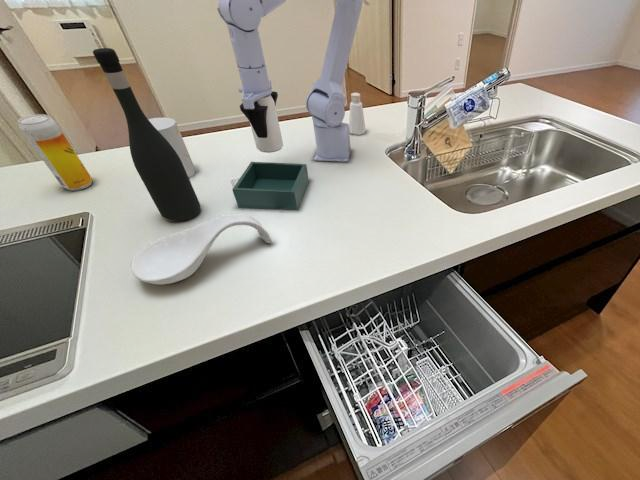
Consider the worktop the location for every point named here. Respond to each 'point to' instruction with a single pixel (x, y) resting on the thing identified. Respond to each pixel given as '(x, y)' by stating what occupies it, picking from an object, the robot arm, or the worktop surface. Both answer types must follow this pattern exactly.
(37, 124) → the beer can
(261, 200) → the box
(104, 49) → the wine bottle
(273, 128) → the can
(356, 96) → the pepper shaker
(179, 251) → the spoon rest
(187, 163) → the cup
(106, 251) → the worktop surface
